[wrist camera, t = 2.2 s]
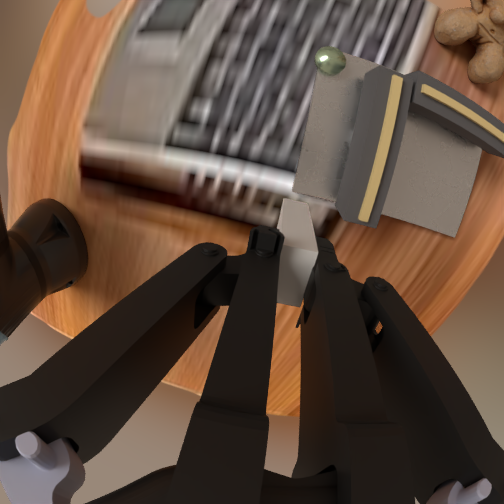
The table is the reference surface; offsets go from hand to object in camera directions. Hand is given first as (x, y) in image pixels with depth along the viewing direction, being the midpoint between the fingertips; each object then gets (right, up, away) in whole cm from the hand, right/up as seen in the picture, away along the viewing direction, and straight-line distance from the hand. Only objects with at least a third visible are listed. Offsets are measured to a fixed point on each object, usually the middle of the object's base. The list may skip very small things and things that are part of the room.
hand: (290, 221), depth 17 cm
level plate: (+14, +10, +8) cm, 19 cm away
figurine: (+24, +25, -1) cm, 35 cm away
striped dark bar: (+9, +9, +7) cm, 15 cm away
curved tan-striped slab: (+19, +13, +4) cm, 23 cm away
